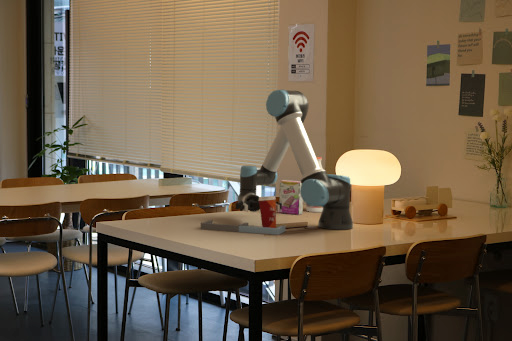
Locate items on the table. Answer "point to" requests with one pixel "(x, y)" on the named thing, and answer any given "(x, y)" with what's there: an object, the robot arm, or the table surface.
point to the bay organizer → (242, 228)
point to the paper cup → (268, 211)
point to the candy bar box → (291, 197)
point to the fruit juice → (315, 208)
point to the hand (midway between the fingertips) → (263, 208)
